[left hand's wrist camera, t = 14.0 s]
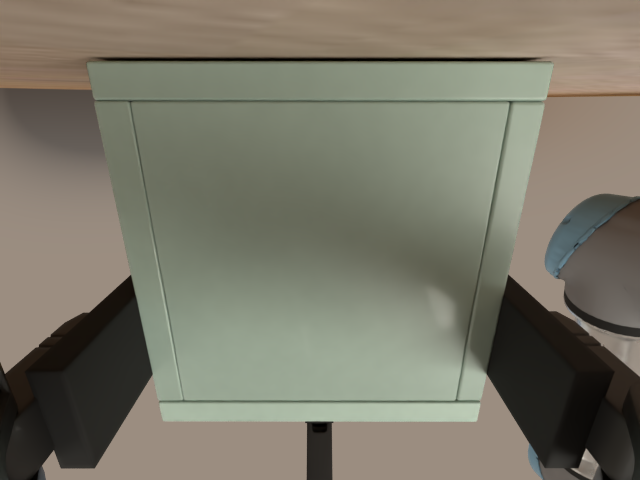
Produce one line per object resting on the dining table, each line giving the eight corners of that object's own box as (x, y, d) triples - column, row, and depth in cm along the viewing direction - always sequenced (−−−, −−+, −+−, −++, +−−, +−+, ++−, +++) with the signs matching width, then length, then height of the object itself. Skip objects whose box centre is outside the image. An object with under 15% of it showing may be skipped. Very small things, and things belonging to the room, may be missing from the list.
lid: (393, 239, 24) (385, 342, 27) (246, 239, 24) (254, 342, 27) (481, 403, 11) (446, 565, 14) (157, 402, 11) (192, 565, 14)
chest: (410, 86, 20) (396, 243, 23) (230, 86, 20) (243, 243, 23) (556, 60, 8) (481, 401, 11) (84, 60, 8) (157, 401, 11)
